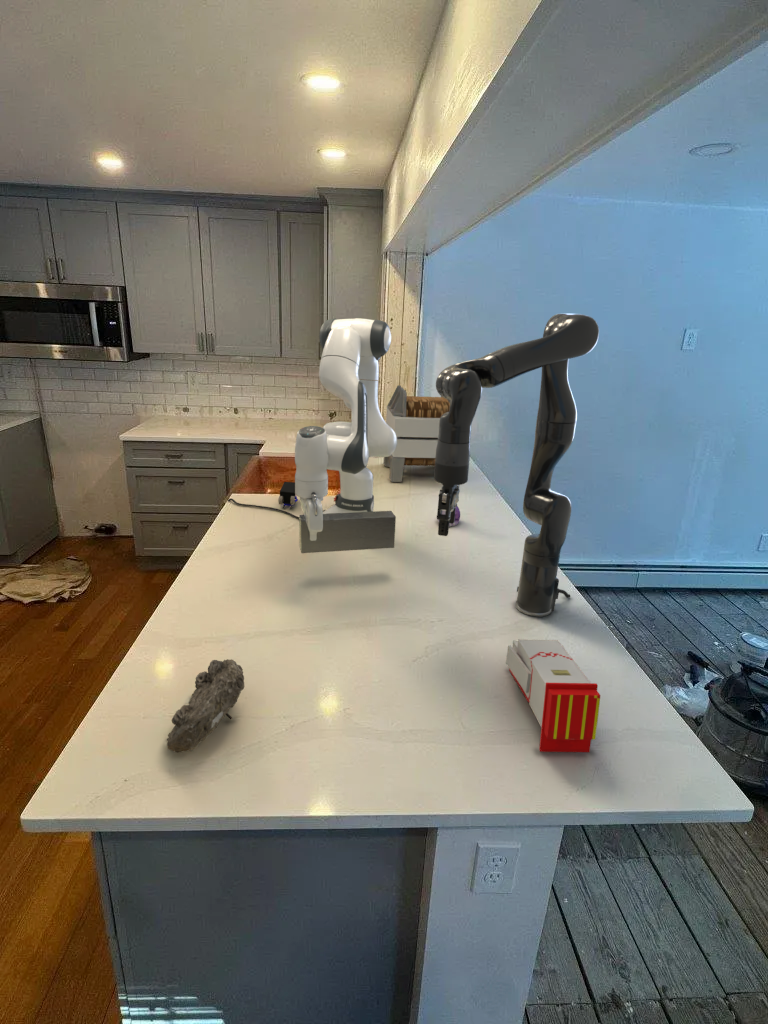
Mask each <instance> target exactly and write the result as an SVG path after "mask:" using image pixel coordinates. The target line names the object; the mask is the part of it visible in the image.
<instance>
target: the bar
mask: <svg viewBox="0 0 768 1024" xmlns="http://www.w3.org/2000/svg"><path fill="white" fill-rule="evenodd" d="M315 516H317V515H315ZM298 517H299V519H298V522H299V523H298V524H299V525H298V528H299V529H298V530H299V532H298V533H299V535H298V536H299V537H298V539H299V551H300V554H314V553H316V554H317V553H330V552H346V551H347V552H349V551H361V550H362V551H363V550H378V549H394V548H395V539H396V519H397V516H396V515H395V513H394V512H393V511H392V510H377V511H375V510H373V512H352V513H329V514H323V530H322V531H321V532H317V539H316V540H315V541H311V540H310V538H309V533H310V531H309V529H308V526H307V523H306V519H305V516H304V514H299V515H298Z"/></svg>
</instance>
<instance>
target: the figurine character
mask: <svg viewBox="0 0 768 1024" xmlns="http://www.w3.org/2000/svg"><path fill="white" fill-rule="evenodd" d="M298 501H299V500H298V496H297V495H296V494H295V481H293V482H292V481H284V482H283V484H282V486H281V488H280V490H279V496H278V505H279V506H282V510H283V509H284V510H285V508H286V507H289V509H290V510H291V509H292V508H293V506H294V505H296V502H298Z"/></svg>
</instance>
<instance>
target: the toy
mask: <svg viewBox="0 0 768 1024" xmlns="http://www.w3.org/2000/svg"><path fill="white" fill-rule="evenodd" d="M505 659H506V660H505V665H506V666H507V667H508V671H509V673H510V674H511V676H512V678H513V679H514V681H515V682H516V685H517V686H518V688H519V690H520V691H521V692H522V694H523V697H525V699H526V701H527V703H529V707H530V709H531V711H532V712H533V714H534V716H535V718H536V720H537V722H538V724H539V726H540V728H541V729H540V739H539V748H538V751H539V752H540V753H543V752H544V753H590V752H591V744H592V743H591V742H592V740H596V736H597V727H598V720H599V719H598V718H599V710H600V704H601V703H600V702H601V696H602V695H601V694H600V693H599V692H598V687H599V686H598V683H595V682H594V683H592V682H591V681H590V679H589V678H588V677H587V676H586V674H585V673H584V671H583V670H582V669H581V668H580V666H579V665H578V664H577V663H576V662H575V661H576V660H574V659H573V658H572V656H571V655H570V653H568V651H567V650H566V648H565V647H564V645H563V644H562V643H561V642H560V641H559V639H529V638H528V639H524V638H521V639H517V640H512V645H511V644H510V645H509V644H508V646H507V653H506V658H505Z"/></svg>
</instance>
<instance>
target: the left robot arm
mask: <svg viewBox="0 0 768 1024" xmlns="http://www.w3.org/2000/svg"><path fill="white" fill-rule="evenodd" d="M318 337H319V345H320V347H321V349H322V352H321V357H320V363H319V366H318V367H319V368H318V379H319V382H320V384H321V385H322V387H323V388H324V389H325V390H326V391H327V392H328V393H330V395H332V396H334V397H336V398H338V399H341V400H342V401H343V403H344V405H345V407H346V408H347V409H348V410H350V411H351V421H332V422H326V423H325V424H324V425H323V427H322V426H318V425H309V426H304V427H301V428H300V429H298V431H297V433H296V438H295V445H294V463H295V469H296V470H295V473H294V482H295V494H296V495H297V497H299V501H300V507H301V510H302V513H303V514H302V515H304V516H305V519H306V523H307V526H308V529H309V531H310V533H309V538H310V540H311V541H315V540H316V539H317V532H321V531H322V530H323V514H329V513H352V512H374V511H375V510H374V509H375V496H374V474H373V472H372V471H371V469H369V468H368V467H367V466H368V465H369V464H368V463H369V458H372V459H379V458H384V457H389V456H390V455H391V454H392V453H393V452H394V451H395V449H396V446H397V437H396V434H395V432H394V430H393V429H392V428H391V427H390V426H389V425H388V424H387V423H386V420H385V419H384V417H383V416H382V413H381V410H380V406H379V375H380V374H379V373H380V371H379V370H380V369H379V360H380V359H381V358H382V357H384V356H385V355H386V354H387V353H388V351H389V350H390V346H391V343H392V333H391V328H390V326H389V324H388V323H387V322H386V321H384V320H380V319H370V318H360V317H354V318H340V319H339V318H338V319H337V318H330V319H326V320H325V321H324V322H323V323H322V325H321V326H320V328H319V336H318ZM328 470H329V471H337V472H338V473H339V483H340V484H339V485H340V488H339V489H340V490H339V491H338V492H337V494H336V495H335V496H334V497H333V502H334V504H333V505H331V506H329V507H328V508H326V509H323V504H322V502H323V500H324V498H325V497H326V496H328V494H329V474H328ZM227 502H233V503H234V504H236V506H241V507H251V508H259V509H265V510H272V511H277V512H279V513H280V512H281V513H284V514H286V515H289V516H291V517H293V518H295V519H298V520H299V516H297V515H295V514H292V513H290V512H289V511H286V510H283V509H280V508H276V507H270V506H264V505H258V504H248V503H247V504H245V503H240V502H237V501H236V500H235V499H234V498H229V499H228V500H227ZM315 515H317V516H315Z"/></svg>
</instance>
